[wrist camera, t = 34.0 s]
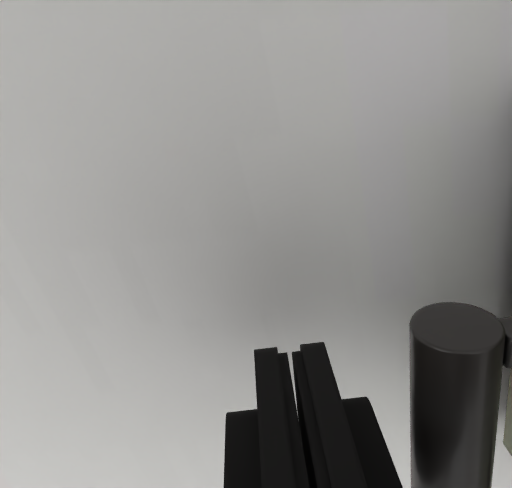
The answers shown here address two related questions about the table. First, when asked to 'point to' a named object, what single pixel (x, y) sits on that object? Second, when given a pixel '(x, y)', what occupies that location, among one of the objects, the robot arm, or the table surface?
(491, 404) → the drawer
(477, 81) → the table surface
